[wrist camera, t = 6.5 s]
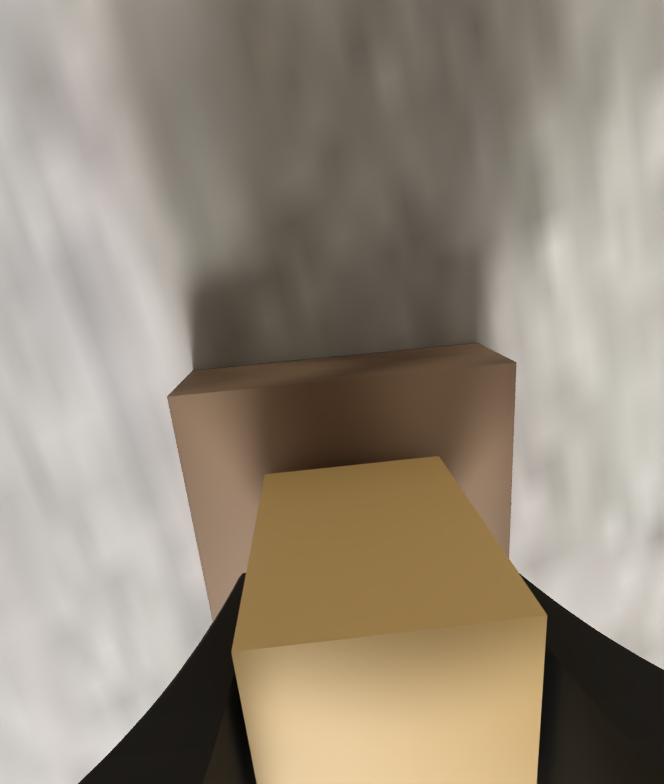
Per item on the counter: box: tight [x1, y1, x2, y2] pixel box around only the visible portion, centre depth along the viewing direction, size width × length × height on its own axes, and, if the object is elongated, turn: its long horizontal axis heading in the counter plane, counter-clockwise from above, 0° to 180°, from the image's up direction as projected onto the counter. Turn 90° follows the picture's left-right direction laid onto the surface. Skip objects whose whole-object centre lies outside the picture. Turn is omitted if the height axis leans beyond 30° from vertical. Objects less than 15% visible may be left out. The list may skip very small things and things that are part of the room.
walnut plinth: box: [167, 343, 516, 621], centre depth 16 cm, size 10×10×3 cm
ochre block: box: [231, 456, 547, 784], centre depth 11 cm, size 5×5×6 cm
